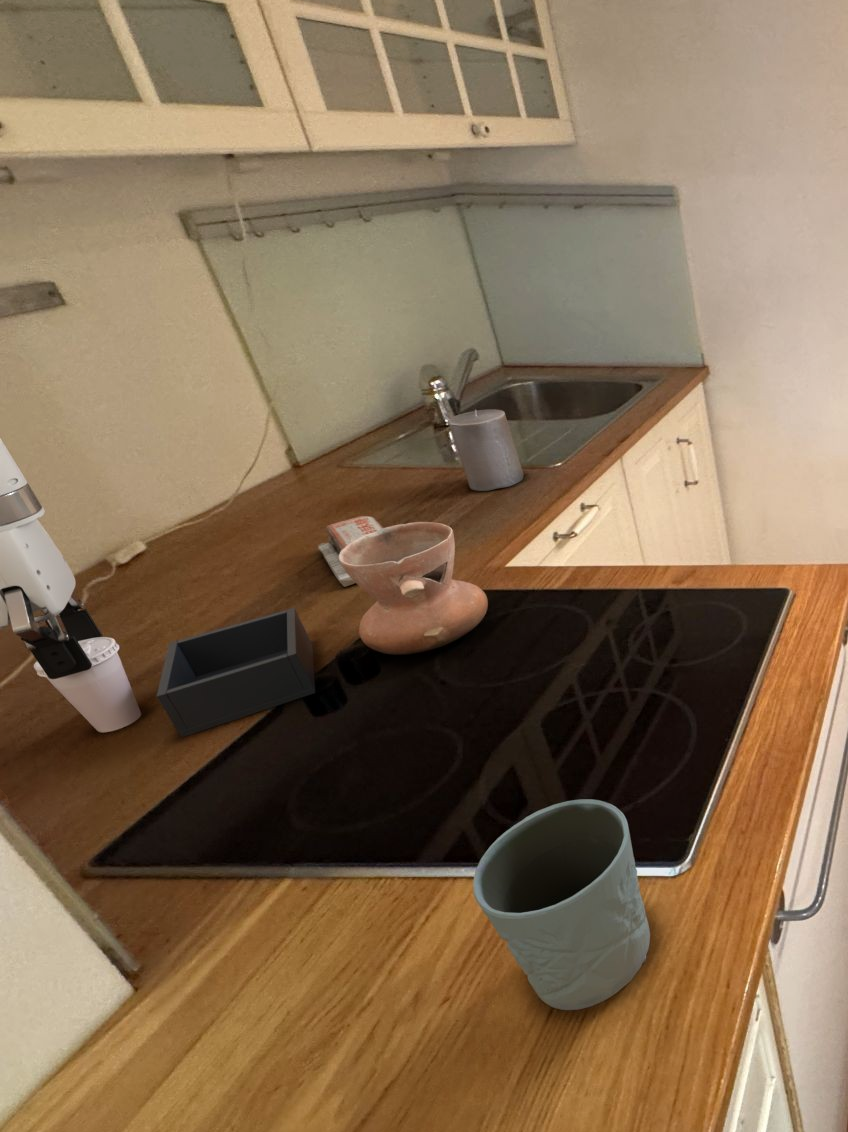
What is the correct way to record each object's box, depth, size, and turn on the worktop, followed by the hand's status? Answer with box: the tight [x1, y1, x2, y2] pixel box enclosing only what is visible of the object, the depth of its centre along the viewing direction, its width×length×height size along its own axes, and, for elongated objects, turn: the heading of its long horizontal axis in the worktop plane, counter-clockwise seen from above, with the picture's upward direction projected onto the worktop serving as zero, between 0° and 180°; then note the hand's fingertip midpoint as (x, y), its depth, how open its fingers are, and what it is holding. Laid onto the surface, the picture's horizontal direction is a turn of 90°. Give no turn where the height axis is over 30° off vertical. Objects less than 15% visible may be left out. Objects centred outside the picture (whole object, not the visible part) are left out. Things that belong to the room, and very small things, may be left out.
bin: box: [156, 607, 316, 738], centre depth 93 cm, size 12×14×6 cm
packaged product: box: [317, 515, 388, 588], centre depth 123 cm, size 18×5×10 cm
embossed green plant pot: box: [472, 798, 651, 1011], centre depth 58 cm, size 10×10×12 cm
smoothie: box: [33, 620, 142, 733], centre depth 86 cm, size 6×6×14 cm
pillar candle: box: [447, 408, 525, 492], centre depth 150 cm, size 10×10×15 cm
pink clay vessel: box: [339, 521, 489, 656], centre depth 101 cm, size 18×14×14 cm
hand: (77, 657), depth 85 cm, fingers closed on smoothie, 6 cm apart
